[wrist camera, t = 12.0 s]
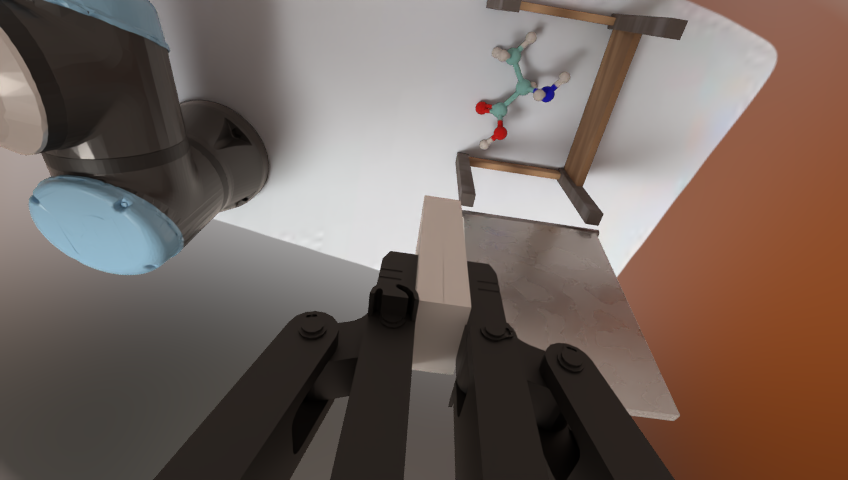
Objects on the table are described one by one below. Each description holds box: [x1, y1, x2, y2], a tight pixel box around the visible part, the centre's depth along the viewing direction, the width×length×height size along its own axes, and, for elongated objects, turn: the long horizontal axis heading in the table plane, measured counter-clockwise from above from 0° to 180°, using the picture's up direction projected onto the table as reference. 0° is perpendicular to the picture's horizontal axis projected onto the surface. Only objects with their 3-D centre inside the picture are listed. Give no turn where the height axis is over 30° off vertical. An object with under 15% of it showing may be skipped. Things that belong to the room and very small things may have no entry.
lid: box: [462, 210, 680, 421], centre depth 36 cm, size 16×22×1 cm
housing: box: [456, 0, 688, 226], centre depth 44 cm, size 16×20×14 cm
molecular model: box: [476, 32, 570, 150], centre depth 46 cm, size 12×10×10 cm
